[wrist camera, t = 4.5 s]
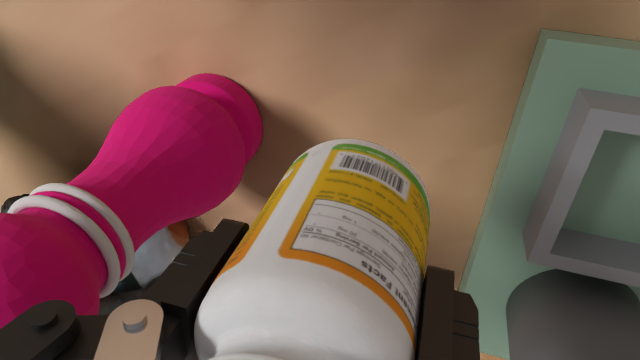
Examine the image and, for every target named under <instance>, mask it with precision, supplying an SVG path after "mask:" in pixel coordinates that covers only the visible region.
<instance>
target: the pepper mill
mask: <svg viewBox="0 0 640 360" xmlns="http://www.w3.org/2000/svg"><path fill="white" fill-rule="evenodd" d="M262 137H263V126H262V119H261V116H260V113H259V111H258V108H257V106H256V104H255V103H254V101H253V99H252V98H251V97H250V96H249V95H248V93H247V92H246V91H245V90H244V89H243V88H242V87H241V86H240V85H238V84H236V83H235V82H233V81H231V80H230V79H228V78H225V77H223V76H220V75H216V74H198V75H195V76H192V77H190V78H188V79H186V80H184V81H183V82H181V83H179V84H178V85H176V86H165V87H159V88H155V89H152V90H149V91H148V92H146V93H144V94H142V95H141V96H140V97H138V98H137V99H136V100H134V101H133V102H132V103H130V104H129V105H128V106H127V107H126V108H125V109H124V110H123V112H122V113H121V114H120V116H119V117H118V118H117V119H116V121H115V122H114V123H113V125H112V127H111V129H110V131H109V133H108V135H107V137H106V139H105V141H104V143H103V145H102V147H101V149H100V151H99V153H98V155H97V156H96V158H95V159H94V160H93V161H92V163H91V164H90V165H89V166H88V167H87V169H85V170H84V171H83V172H82V173H80V174H79V175H78V176H77V177H75V178H74V179H73V180H72V181H70V182H68V183H66V184H63V183H49V184H44V185H42V186H39V187H37V188H36V189H34V190H33V191H32V192H31V193H30V195H29V196H25V197H23V198H20V199H19V200H17V201H15V202H14V203H13V204H12V206H11V207H10V209H9V210H8V213H0V329H1V328H2V327H4V326H5V325H6V324H8V323H9V322H11V321H12V320H13V319H15V318H16V317H18V316H19V315H20V314H22V313H23V312H24V311H26V310H27V309H29V308H30V307H32V306H34V305H36V304H39V303H41V302H45V301H49V300H64V301H67V302H69V303H71V304H72V305H73V306H74V308H75V310H76V313H77V315H98V313H99V307H100V298H103V297H105V296H107V295H109V294H110V293H111V292H113V291H114V289H115V288H116V287H117V285H118V283H119V281H122V280H123V279H124V278H125V277H127V276H128V275H129V273H130V272H131V270H132V268H133V265H134V259H135V252H136V251H137V250H138V248H139V247H140V246H141V245H142V244H143V243H144V242H145V241H146V240H148V239H149V238H150V237H151V236H152V235H154V234H155V233H156V232H158V231H159V230H161V229H163V228H165V227H166V226H168V225H170V224H173V223H176V222H179V221H182V220H185V219H189V218H192V217H196V216H199V215H202V214H204V213H206V212H207V211H209V210H211V209H213V208H215V207H217V206H218V205H219V204H221V203H222V202H223V201H224V200H225V199H226V198H227V197H228V196H229V195H230V194H231V193H232V192H234V190H235V189H236V187H237V186H238V184H239V183H240V181H241V179H242V176H243V173H244V169H245V165H246V164H247V162H248V161H249V160H250V159H251V158H252V157H253V156H254V155H255V153H256V152H257V150H258V148H259V146H260V144H261V141H262Z"/></svg>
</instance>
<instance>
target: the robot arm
mask: <svg viewBox="0 0 640 360" xmlns="http://www.w3.org/2000/svg"><path fill="white" fill-rule="evenodd" d="M248 230H249V225H248V224H247V223H243V222H239V221H234V220H230V219H226V218H225V219H223V220H222V221H221V222H220V223H219V224H218V226H217V227H216V228H215V230H214V231H213V232H208V231H203V232H201V233H200V234H198V235H196V236H195V237H193V238H192V239H190V240H189V241H188V242H187V244H186V245H185V246H184V247H183V248H182V250H181V251H180V254H178V255H177V256H176V257H175V258H174V260H173V261H172V263H170V264H169V266H168V267H167V268H166V269H165V271H164V272H163V273H162V274H161V276H160V277H159V278H158V279H157V280H156V282H155V283H154V284H153V285H152V287H151V288H150V289H149V290H148V292H147V293H146V294H145V295H144V296H143V298H142V299H139V300H133V301H129V302H126V303H124V304H122V305H120V306H119V307H117V308H116V309H115V310H114V311H113V312H112V313H111V314H108V315H77V313H76V310H75V308H74V306H73V305H72V304H71V303H69V302H67V301H64V300H49V301H45V302H41V303H39V304H36V305H34V306H32V307H30V308H29V309H27V310H26V311H24V312H23V313H22V314H20V315H19V316H18V317H16V318H15V319H13V320H12V321H11V322H9V323H8V324H6V325H5V326H4V327H2V328H1V329H0V360H199V359H198V356H197V353H196V349H195V342H194V325H195V320H196V316H197V313H198V310H199V307H200V305H201V303H202V301H203V299H204V298H205V296H206V294H207V293H208V291H209V289H210V287H211V285H212V284H213V282H214V281H215V279H216V277H217V276H218V274H219V273H220V271H221V270H222V269H223V267H224V266H225V264H226V263H227V261H228V260H229V258H230V257H231V255H232V254H233V252H234V251H235V249H236V248H237V246H238V245H239V243H240V242H241V240H242V239H243V237H244V236H245V234H246V233H247V231H248ZM478 328H479V313H478V308H477V306H476V304H475V302H474V300H473V298H472V297H471V295H470V294H468V293H464V292H459V291H455V290H454V271H451V270H447V269H442V268H438V267H434V266H429V265H428V267H427V270H426V274H425V278H424V282H423V288H422V298H421V307H420V316H419V326H418V335H417V347H416V356H415V360H480V348H479V329H478Z"/></svg>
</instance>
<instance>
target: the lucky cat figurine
mask: <svg viewBox="0 0 640 360" xmlns="http://www.w3.org/2000/svg"><path fill="white" fill-rule="evenodd" d="M29 195H30V194H23V195H21V196H15V197H12V198H9V199H7V200H6V201H5V202H4V204H3V205H2V207H1V213H8V210H9V209H10V207H11V206H12V204H13V203H14V202H15V201H17V200H19V199H20V198H23V197H25V196H29ZM189 240H190V237H189V232H188V227H187V224H186V222H185V221H184V220H182V221H179V222H176V223H173V224H170V225H168V226H166V227H165V228H163V229H161V230H159V231H158V232H156V233H155V234H154V235H152V236H151V237H150V238H149V239H148V240H146V241H145V242H144V243H143V244H142V245H141V246H140V247H139V248H138V250H137V251H136V252H135V259H134V265H133V268H132V270H131V272H130V273H129V275H128V276H127V277H125V278H124V279H123V280H122V281H119V283H118V285H117V287H116V288H115V289H114V291H113V292H111V293H110V294H109V295H107V296H105V297H103V298H100V307H99V313H98V315H108V314H111V313H112V312H113V311H114V310H115V309H116V308H117V307H119V306H120V305H122V304H124V303H126V302H129V301H133V300H139V299H142V298H143V296H144V295H145V294H146V293H147V292H148V290H149V289H150V288H151V287H152V285H153V284H154V283H155V282H156V280H157V279H158V278H159V277H160V276H161V274H162V273H163V272H164V271H165V269H166V268H167V267H168V266H169V264H170V263H172V261H173V260H174V258H175V257H176V256H177V255H178V254H180V251H181V250H182V248H183V247H184V246H185V245H186V244H187V242H188V241H189Z"/></svg>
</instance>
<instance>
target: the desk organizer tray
mask: <svg viewBox="0 0 640 360" xmlns="http://www.w3.org/2000/svg"><path fill="white" fill-rule="evenodd" d="M458 291H459V292H464V293H468V294H470V295H471V297H472V298H473V300H474V302H475V304H476V306H477V308H478V313H479V328H478V329H479V348H480V352H482V353H486V354H489V355H493V356H497V357H500V358H504V359H508V360H640V41H634V40H626V39H618V38H611V37H603V36H595V35H587V34H580V33H572V32H564V31H556V30H549V29H541V32H540V35H539V38H538V42H537V45H536V48H535V51H534V54H533V57H532V60H531V63H530V67H529V70H528V73H527V76H526V79H525V82H524V85H523V88H522V92H521V95H520V98H519V101H518V104H517V107H516V110H515V114H514V117H513V120H512V123H511V126H510V129H509V132H508V135H507V139H506V142H505V145H504V148H503V151H502V154H501V157H500V161H499V164H498V167H497V170H496V173H495V176H494V179H493V182H492V186H491V189H490V192H489V195H488V198H487V201H486V204H485V208H484V211H483V214H482V217H481V220H480V223H479V226H478V229H477V233H476V236H475V239H474V242H473V245H472V248H471V251H470V255H469V258H468V261H467V264H466V267H465V270H464V273H463V276H462V280H461V283H460V286H459V289H458Z"/></svg>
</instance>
